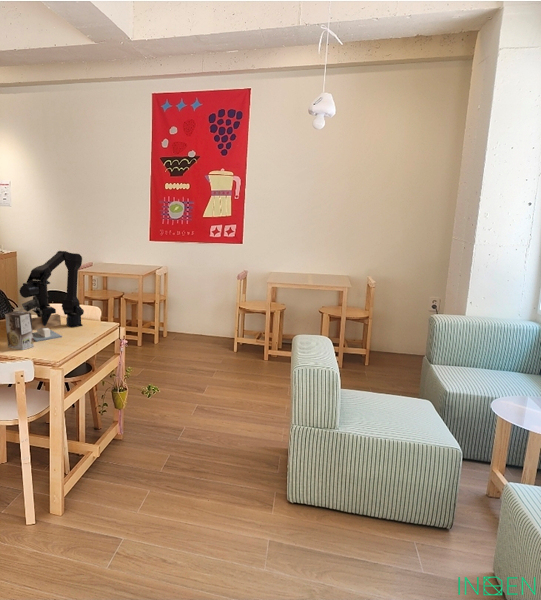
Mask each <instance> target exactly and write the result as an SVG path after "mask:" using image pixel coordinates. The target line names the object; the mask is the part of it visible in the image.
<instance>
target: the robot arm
mask: <svg viewBox="0 0 541 600" xmlns="http://www.w3.org/2000/svg"><path fill="white" fill-rule="evenodd" d="M63 262H64V265H65V268H66V269H67V280H66V281H67V282H66V296H65V297H64V299H62V300H61V309H62V311H63V314H64V316H65V315H66V318H65V319H66V322H65V323H66V326H67V327H70V328H75V327H76V328H77V327H81V326H83V325H84V324H82V316H83V315H84V313H85V311H84V309H83V308H82V307H81V306H80V305H81V304H80V303H81V302H80V300H79V298H78V295H77V294H78V275H79V274H78V273H79V269H80V268H81V267H82V263H83V256H81V254H80V253H74V252H73V253H72V252H69V251H67V250H58V251H57V252H56V253H55V254H54V255H53V256H52V257H51V258H49V260H47V261H46V262H45V263H43V264H41V265H38V266H36V267H34V268H32V269H31V271H30V274H29V275H28V278H27V280H26V282H24V283H22V286H20V288H19V293H20V296H21V297H22V298H24V299H26V298H30V297H32V299H30V300H28V301H25V302H23V303H21V305H22V307H23V308H24V310H26V311H30V310H31V311H30V312H34V313H35V314H36V316H37V317H41V318H42V322H43V326H46V324H47V322H48V320H49V318H50V316H51V315H55V314H57V311H56V308H54V307H53V306H51V304H50V303H49V299H50V295H49V294H48V285H50V284H51V282H50V281H49V280H48V279H49V278H50V277H51V275H52V272H53V271H54V270H55V269H56V268H57V267H58V266H59V265H61V264H62V263H63Z"/></svg>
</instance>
